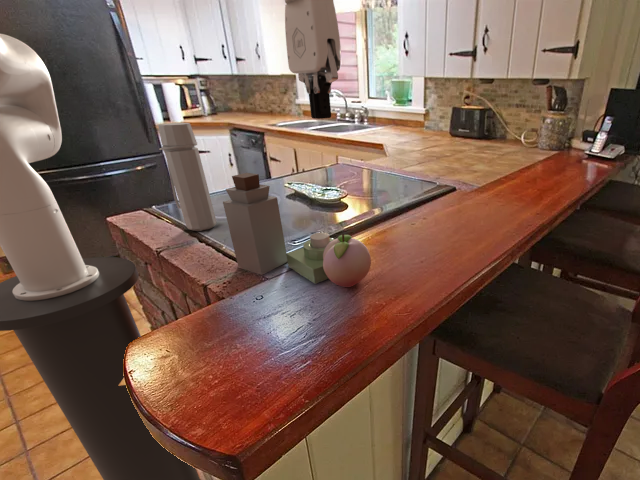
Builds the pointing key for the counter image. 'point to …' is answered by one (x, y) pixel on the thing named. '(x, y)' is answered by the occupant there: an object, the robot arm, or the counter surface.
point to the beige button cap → (319, 240)
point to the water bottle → (187, 175)
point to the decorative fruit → (346, 261)
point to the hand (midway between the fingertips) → (321, 117)
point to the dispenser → (308, 262)
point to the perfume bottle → (254, 225)
